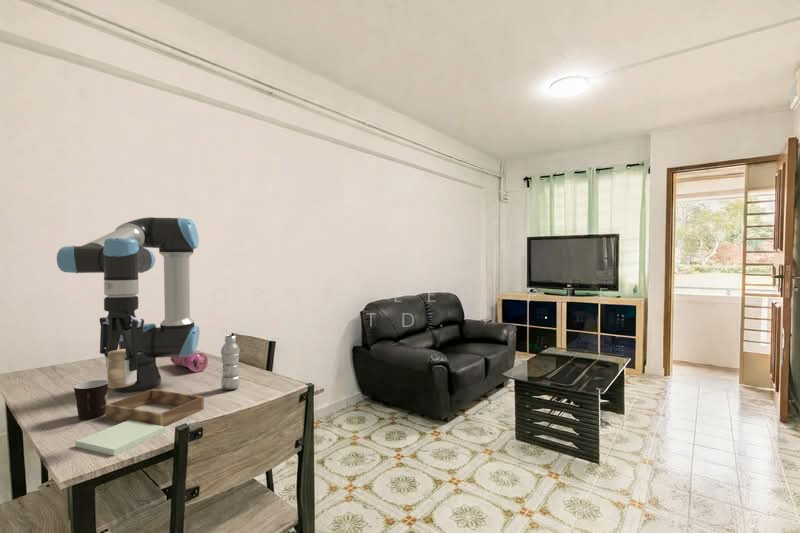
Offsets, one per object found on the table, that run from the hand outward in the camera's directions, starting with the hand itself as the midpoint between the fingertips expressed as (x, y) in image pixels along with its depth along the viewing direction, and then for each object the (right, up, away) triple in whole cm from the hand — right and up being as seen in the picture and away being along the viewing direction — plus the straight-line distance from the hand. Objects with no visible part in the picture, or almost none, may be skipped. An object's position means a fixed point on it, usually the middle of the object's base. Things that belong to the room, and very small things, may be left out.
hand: (121, 381), depth 104 cm
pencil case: (-20, -15, +69) cm, 73 cm away
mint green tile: (0, -16, 0) cm, 16 cm away
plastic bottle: (+11, -15, +41) cm, 46 cm away
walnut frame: (-2, -15, +18) cm, 24 cm away
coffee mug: (-20, -16, +14) cm, 29 cm away
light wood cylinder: (0, -1, 0) cm, 1 cm away
